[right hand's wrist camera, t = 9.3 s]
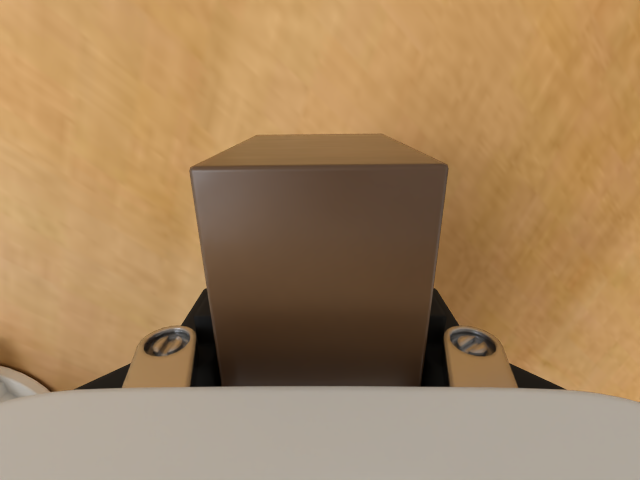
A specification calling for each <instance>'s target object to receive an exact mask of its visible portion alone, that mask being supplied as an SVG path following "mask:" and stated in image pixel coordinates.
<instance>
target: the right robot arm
mask: <svg viewBox="0 0 640 480" xmlns="http://www.w3.org/2000/svg"><path fill="white" fill-rule="evenodd" d="M0 480H640V402H636V401H632V400H629V399H625V398H621V397H616V396H610V395H604V394H599V393H593V392H584V391H573V390H566V389H564V388H562V387H560V386H557V385H555V384H553V383H551V382H549V381H547V380H544V379H542V378H540V377H538V376H536V375H534V374H531V373H529V372H527V371H525V370H523V369H521V368H518V367H516V366H514V365H512V364H510V363H509V362H508V359H507V357H506V354H505V351H504V349H503V346H502V345H501V343H500V341H499V340H498V339H497V338H495V337H494V336H493V335H491V334H490V333H488V332H486V331H484V330H481V329H479V328H475V327H471V326H459V324H458V323H457V321H456V320H455V318H454V316H453V315H452V313H451V312H450V310H449V309H448V307H447V305H446V304H445V302H444V301H443V299H442V298H441V296H440V294H439V293H438V291H437V290H436V289H434V288H433V294H432V302H431V310H430V318H429V326H428V334H427V342H426V350H425V358H424V366H423V373H422V381H421V387H386V386H242V387H222V386H221V379H220V373H219V366H218V359H217V352H216V346H215V339H214V332H213V326H212V319H211V312H210V305H209V299H208V292H207V288H206V289H204V290H203V292H202V293H201V295H200V297H199V298H198V300H197V301H196V303H195V304H194V306H193V308H192V309H191V311H190V312H189V314H188V315H187V317H186V319H185V320H184V322H183V323H182V325H181V326H169V327H165V328H161V329H159V330H156V331H154V332H152V333H150V334H149V335H147V336H146V337H145V338H143V339H142V340H141V341H140V343H139V345H138V346H137V349H136V351H135V354H134V357H133V359H132V362H131V364H128V365H126V366H124V367H122V368H120V369H117V370H115V371H113V372H111V373H109V374H107V375H104V376H102V377H100V378H98V379H96V380H94V381H91V382H89V383H87V384H85V385H83V386H81V387H78V388H76V389H74V390H67V391H56V392H50V391H49V390H48V389H47V388H46V387H44V386H43V385H41V384H40V383H39V382H37V381H36V380H34V379H32V378H31V377H29V376H27V375H25V374H23V373H21V372H18V371H16V370H13V369H10V368H7V367H3V366H0Z"/></svg>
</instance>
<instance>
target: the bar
mask: <svg viewBox="0 0 640 480" xmlns="http://www.w3.org/2000/svg"><path fill="white" fill-rule="evenodd" d="M447 176H448V165H447V164H445V163H443V162H440V161H438V160H436V159H434V158H432V157H430V156H428V155H426V154H424V153H422V152H419V151H417V150H415V149H413V148H411V147H409V146H407V145H405V144H403V143H400V142H398V141H396V140H394V139H392V138H390V137H388V136H386V135H384V134H310V135H256V136H254V137H252V138H250V139H248V140H246V141H244V142H242V143H240V144H237V145H235V146H233V147H231V148H229V149H227V150H225V151H223V152H221V153H219V154H217V155H215V156H213V157H211V158H209V159H207V160H205V161H202V162H200V163H198V164H196V165H194V166H192V167H190V178H191V185H192V191H193V198H194V205H195V211H196V218H197V225H198V232H199V238H200V245H201V252H202V258H203V265H204V272H205V279H206V285H207V292H208V299H209V305H210V312H211V319H212V326H213V332H214V339H215V346H216V352H217V359H218V366H219V373H220V379H221V386H222V387H242V386H386V387H421V381H422V373H423V366H424V358H425V350H426V342H427V334H428V326H429V318H430V310H431V302H432V294H433V287H434V279H435V271H436V263H437V255H438V247H439V239H440V231H441V223H442V215H443V208H444V200H445V192H446V184H447Z"/></svg>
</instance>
